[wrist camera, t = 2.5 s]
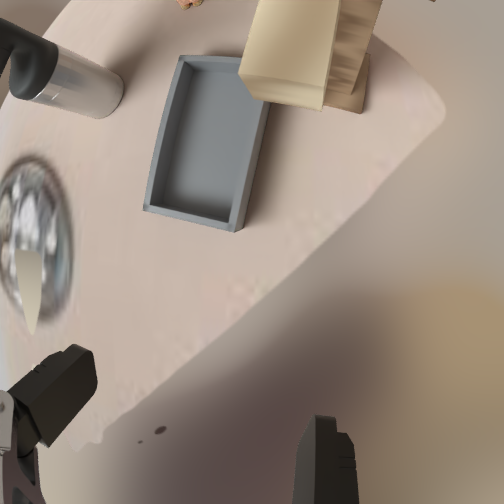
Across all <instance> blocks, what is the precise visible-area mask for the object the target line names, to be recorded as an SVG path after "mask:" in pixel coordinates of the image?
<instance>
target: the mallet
mask: <svg viewBox="0 0 504 504" xmlns="http://www.w3.org/2000/svg"><path fill="white" fill-rule="evenodd" d="M340 6H341V0H259V3H258V6H257V9H256V13H255V16H254V19H253V22H252V26H251V29H250V32H249V36H248V39H247V43H246V46H245V50H244V53H243V57H242V60H241V64H240V67H239V71H238V75H239V76H240V78H241V79H242V81H243V82H244V84H245V86H246V87H247V89H248V91H249V92H250V94H251V95H252V97H253V99H255V100H262V101H268V102H274V103H280V104H286V105H291V106H296V107H301V108H306V109H311V110H316V111H320V112H322V107H323V102H324V97H325V92H326V87H327V81H328V76H329V71H330V65H331V60H332V54H333V48H334V43H335V37H336V31H337V25H338V19H339V13H340Z"/></svg>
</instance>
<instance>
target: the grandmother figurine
mask: <svg viewBox="0 0 504 504" xmlns="http://www.w3.org/2000/svg"><path fill="white" fill-rule="evenodd" d="M176 1H177V2H178V3H179V4H180V5H181V7H182V9H183V10H185V9H188V8H189V7H190V3H193V6H199V5H200V4H201V3H202V1H203V0H176Z"/></svg>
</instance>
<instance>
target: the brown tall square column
mask: <svg viewBox="0 0 504 504" xmlns="http://www.w3.org/2000/svg"><path fill="white" fill-rule="evenodd" d="M431 1H433V2H435V0H431ZM381 4H382V0H341V6H340V13H339V19H338V25H337V31H336V37H335V43H334V48H333V54H332V60H331V65H330V71H329V76H328V81H327V87H326V92H325V97H324V102H323V105H326V106H330V107H334V108H339V109H343V110H346V111H350V112H354V113H358V114H361V112H362V109H363V102H364V96H365V90H366V83H367V76H368V69H369V61H370V54H367V53H365V52H366V49H367V46H368V43H369V41H370V38H371V35H372V31H373V28H374V25H375V22H376V19H377V16H378V13H379V10H380V6H381Z"/></svg>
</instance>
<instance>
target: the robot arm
mask: <svg viewBox="0 0 504 504" xmlns="http://www.w3.org/2000/svg"><path fill="white" fill-rule="evenodd" d="M9 57H10V58H11V69H10V77H9V88H10V92H11V94H12V95H13V96H14V97H16V98H19V99H23V100H27V101H32V102H36V103H40V104H44V105H48V106H52V107H56V108H60V109H63V110H67V111H71V112H74V113H78V114H81V115H85V116H88V117H92V118H95V119H101V118H104V117H106V116H108V115H109V114H111V113H112V112H113V111H114V110H115V108H116V107H117V106H118V104H119V102H120V100H121V98H122V95H123V88H124V85H123V81H122V79H121V78H120V76H118V75H117V74H115V73H113V72H111V71H109V70H107V69H106V68H104V67H102V66H100V65H98V64H96V63H94V62H92V61H90V60H88V59H86V58H84V57H82V56H80V55H78V54H76V53H74V52H72V51H70V50H68V49H66V48H63V47H61V46H59V45H57V44H55V43H52V42H50V41H48V40H46V39H44V38H42V37H40V36H37V35H35V34H33V33H31V32H29V31H27V30H25V29H23V28H21V27H19V26H17V25H15V24H13V23H11V22H9V21H7V20H4V19H2V18H0V74H2V72H3V70H4V68H5V65H6V63H7V61H8V59H9ZM0 77H1V75H0ZM97 383H98V381H97V375H96V369H95V363H94V356H93V353H92V352H91V351H90V350H87V349H85V348H83V347H81V346H79V345H77V344H72V345H71V346H69V347H68V348H67V349H66V350H65V351H64V352H62V351H59V352H57V353H54V354H52V355H49V356H48V357H47V358H45V359H44V360H43V361H42V362H41V363H40V365H39V364H38V365H37V366H36V367H35V368H34V369H33V371H32V370H31V371H30V372H29V373H28V374H27V375H25V376H24V377H23V378H22V379H21V380H20V381H18V382H17V383H16V384H15V385H14V386H13V387H12V388H10V389H9V390H8V391H7V392H5V391H3V390H0V504H46V502H45V500H44V497H43V495H42V492H41V488H40V477H39V465H38V449H37V446H36V444H37V443H38V442H40V443H41V444H43V445H44V446H46V447H47V448H49V447H50V446H51V444H52V443H53V442H54V441H55V440H56V438H57V437H58V436H59V435H60V434H61V432H62V431H63V430H64V429H65V428H66V427H67V425H68V424H69V423H70V422H71V421H72V419H73V418H74V417H75V416H76V415H77V414H78V412H79V411H80V410H81V409H82V408H83V407H84V405H85V404H86V403H87V402H88V401H89V400H90V398H91V397H92V396H93V395H94V393H95V391H96V389H97ZM292 504H359V495H358V483H357V471H356V461H355V452H354V444H353V443H352V441H351V439H350V438H349V436H348V434H347V433H340V432H337V427H336V418H335V417H330V416H322V415H315V414H314V415H312V417H311V419H310V421H309V423H308V425H307V427H306V429H305V431H304V433H303V435H302V437H301V440H300V442H299V445H298V449H297V454H296V467H295V479H294V490H293V501H292Z"/></svg>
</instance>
